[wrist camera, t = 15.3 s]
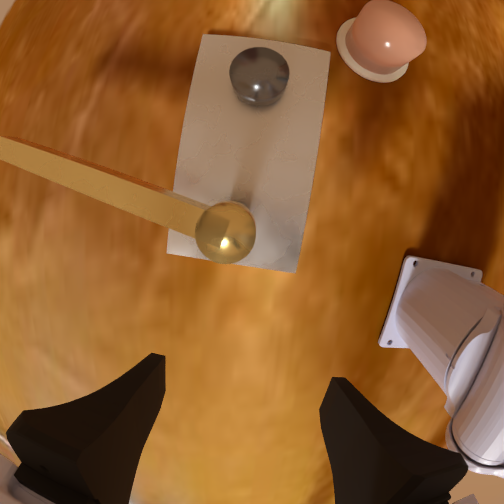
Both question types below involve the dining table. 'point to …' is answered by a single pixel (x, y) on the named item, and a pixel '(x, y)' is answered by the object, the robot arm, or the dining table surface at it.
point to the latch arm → (142, 199)
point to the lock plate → (253, 140)
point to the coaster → (354, 65)
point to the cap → (385, 37)
